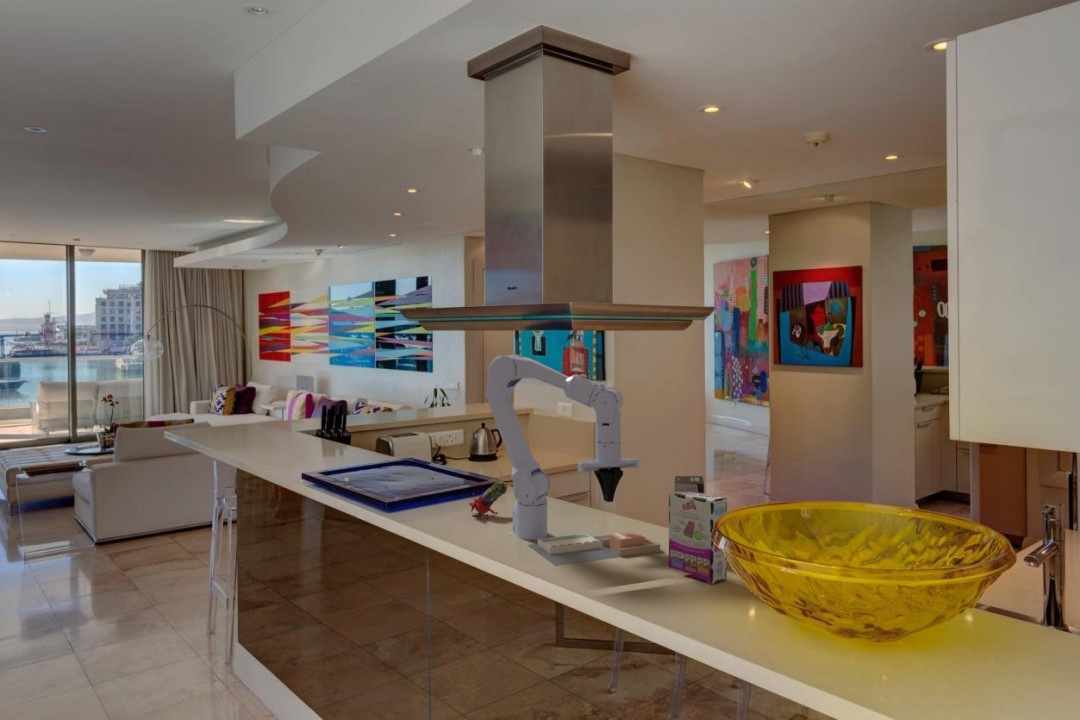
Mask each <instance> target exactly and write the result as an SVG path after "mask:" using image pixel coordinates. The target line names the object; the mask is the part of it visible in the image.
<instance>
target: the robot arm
mask: <svg viewBox="0 0 1080 720" xmlns="http://www.w3.org/2000/svg"><path fill="white" fill-rule="evenodd" d="M486 374H487V382H486V393H485V398H486V400H487V403H488V406H489V408H490V411H491V413H492V416H493V419H494V421H495V424H496V427H497V429H498V432H499V434H500V435H499V436H500V437H501V440H502V442H503V445H504V447H505V450H506V453H507V456H508V458H509V460H510V463H511V467H512V469H511V476H510V477H511V480H512V483H513V486H512V493H513V497H514V498H515V499H516V501H515V503H514V504H513V507H512V514H511V515H512V532H509V533H508V535H509V536H510V537H513V536H516V537H518V538H519V539H521V540H522V539H523V540H530V541H533V540H534V541H535V540H538V539H542V538H548V499H547V497H546V494H548V492H549V490H550V487H551V481H550V477H549V476H548V475H547V474H546V473H545V472H544V471H543V469H542V467H541V464H540V463H539V462H538V461H537V460H536V459H535V458H534V456H533V454H532V452H531V448H530V446H529V443H528V441H527V438H526V436H525V432H524V430H523V428H522V425H521V422H520V421H519V417H518V415H517V413H516V409H515V407H514V404H513V402H512V399H511V395H512V393H513V391H514V389H515V387H516V385H518V384H519V382H520V381H521V380H522V379H527V378H533V379H536V380H538V381H540V382H543V383H545V384H549V385H551V386H553V387H555V388H559V389H562V390H563V392H564V395H565V397H566V398H568V399H570V400H573V401H575V402H578V403H579V404H582V405H584V406H587V407H589V408H593V410H594V411H595V413H596V414H595V417H596V418H595V459H592V460H587V461H579V462H577V471H578V472H580V473H585V472H593V473H594V475H595V477H596V479H597V481H598V483H599V486H600V489H601V494H602V497H603V501H604V502H606V503H611V502H614V498H615V495H616V491H617V487H618V485H619V483H620V481H621V479H622V477H623V475H624V470H622V469H631V468H633V469H636V468H637V469H638V468H639V459H638V458H636V457H631V458H630V457H629V458H628V457H627V458H622V421H621V416H622V414H621V410H620V409H621V408H622V407H623V404H624V398H623V394H622V393H621V392H620V391H619V390H617V389H616V388H615V387H614V386H613V387H606V384H605V383H603V382H601V383H597V382H595V381H593V380H591V379H589V378H587V377H588V376H587V375H586V374H584V373H581V374H577V373H575V374H573V375H571V376H568V375H566V374H564V373H562V372H560V371H557V370H555V369H554V368H552V367H550V366H547V365H545V364H543V363H541V362H540V361H537V360H534V359H532V358H530V357H526V356H522V355H520V354H517V353H513V354H510V355H504V354H503V355H502V354H501V355H497V356H496V357H494V358H493V359H492V360H491V362H490V364H489V366H488V367H487V370H486Z"/></svg>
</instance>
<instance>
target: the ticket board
mask: <svg viewBox="0 0 1080 720" xmlns="http://www.w3.org/2000/svg"><path fill="white" fill-rule="evenodd" d="M527 546H528V547H529V548H530V549H532V550H533V551H534V552H535V553H537V554H538V555H540V556H541V557H543V559H545V560H547V561H548V562H549V563H551V564H553V566H555V567H556V566H563V565H570V564H571V565H572V564H576V563H578V564H579V563H584V562H594V561H599V560H600V561H602V560H607V559H616V558H625V557H629V556H639V555H645V554H652V553H661V552H665V550H663V549H662V548H661V544H660V543H659V542H656V541H655V540H652V539H650V538H649V537H646V536H644V545H643V546H635V547H628V548H620V549H619V553H618V552H617V551H615V550H613V549H611V548H610V547H609V534H606V535H599V536H598V535H597V536H591V535H589V534H588V533H578V534H568V535H562V536H553V537H545V538H542V539H537V543H531V544H530V543H529V544H527Z"/></svg>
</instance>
